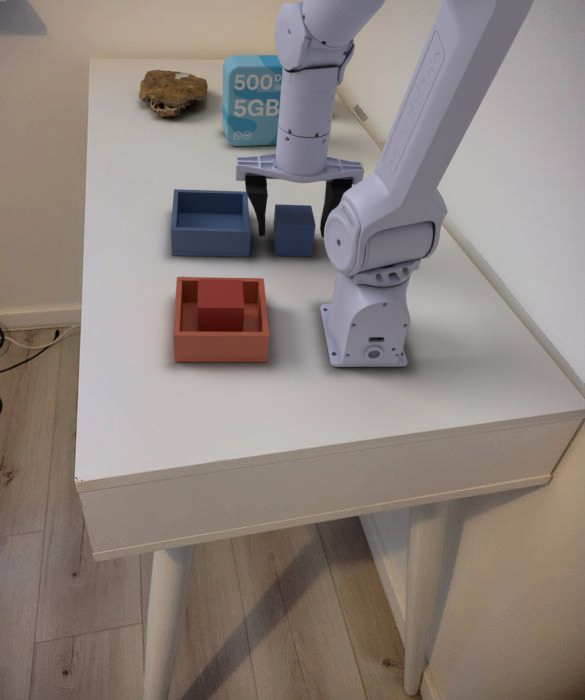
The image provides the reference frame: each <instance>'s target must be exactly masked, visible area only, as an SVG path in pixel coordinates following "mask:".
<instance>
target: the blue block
mask: <svg viewBox="0 0 585 700" xmlns="http://www.w3.org/2000/svg"><path fill="white" fill-rule="evenodd" d="M272 226H273V227H272V241H273V242H272V243H273V250H274V256H275V257H312V256H313V255H312V254H313V248H314V241H315V234H316V220H315V216H314V212H313V206H312V205H307V204H281V203H279V204H274V213H273V223H272Z"/></svg>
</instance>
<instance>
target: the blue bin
mask: <svg viewBox="0 0 585 700" xmlns="http://www.w3.org/2000/svg"><path fill="white" fill-rule="evenodd" d="M172 196H173V197H172V210H171V222H170V223H171V224H170V243H171V256H176V257H177V256H179V257H181V256H183V257H184V256H185V257H186V256H187V257H225V258H226V257H227V258H228V257H229V258H231V257H232V258H250V252H251V251H250V249H251V234H252V233H251V232H252V231H251V220H250V219H251V218H250V208H249V198H248V195H247V192H246V191H241V190H240V191H237V190H211V189H210V190H209V189H184V188H183V189H182V188H180V189H179V188H175V189H173V195H172Z"/></svg>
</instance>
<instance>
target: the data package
mask: <svg viewBox="0 0 585 700" xmlns="http://www.w3.org/2000/svg"><path fill="white" fill-rule="evenodd" d="M282 70H283V66H282V65H281V63H280V61H279V59H278V56H277V54H233V55H230V56H227V57H226V58H225V60H224V62H223V64H222V95H221V96H222V97H221V99H222V102H221V104H222V105H221V108H222V109H221V127H222V130H223V133H224V135H225V137H226V140H227V141H228V143H229V144H230V145H232V146H234V147H254V146H257V147H258V146H277V133H278V120H279V108H280V96H281V83H282Z"/></svg>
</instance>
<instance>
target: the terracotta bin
mask: <svg viewBox="0 0 585 700" xmlns="http://www.w3.org/2000/svg"><path fill="white" fill-rule="evenodd" d="M198 279H217V280H243V295H244V323H243V332H198ZM175 282H176V284H175V297H174V298H175V301H174V316H173V317H174V318H173V330H172V331H173V333H172V338H173V339H172V340H173V357H174V359H173V360H174V363H267V362H268V357H269V345H270V328H269V318H268V317H269V316H268V307H267V306H268V305H267V298H266V287H265V279H264V278H263V277H218V276H217V277H216V276H215V277H211V276H210V277H209V276H202V277H201V276H176V281H175Z"/></svg>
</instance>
